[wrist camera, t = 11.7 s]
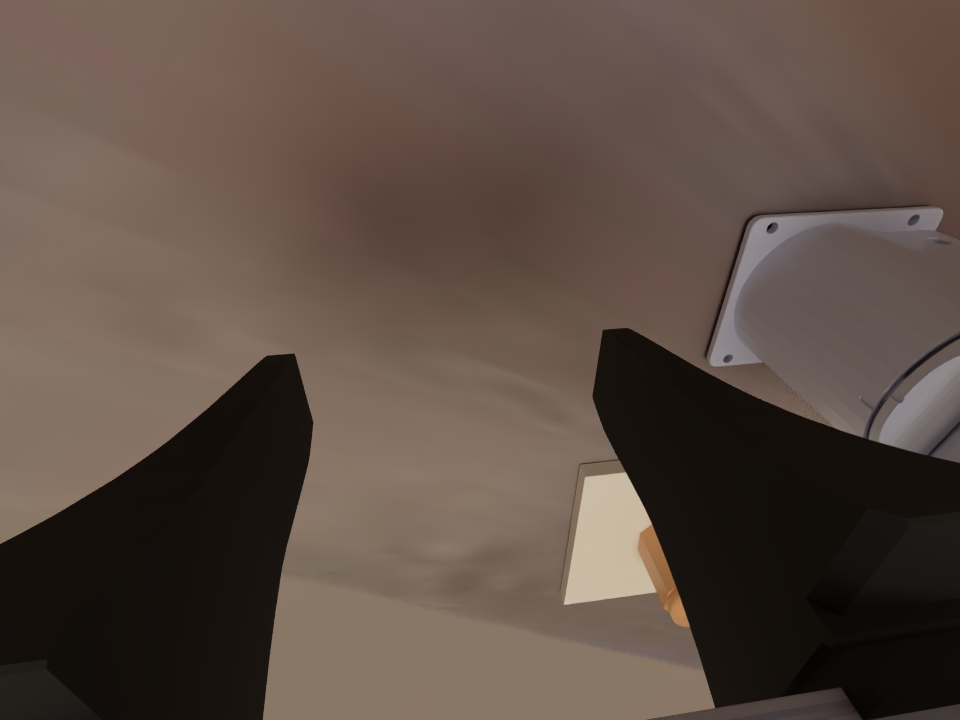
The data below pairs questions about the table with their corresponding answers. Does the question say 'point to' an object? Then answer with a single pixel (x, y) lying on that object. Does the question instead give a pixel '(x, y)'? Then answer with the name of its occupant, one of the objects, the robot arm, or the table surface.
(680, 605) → the cap
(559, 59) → the table surface
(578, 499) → the post board
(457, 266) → the table surface
